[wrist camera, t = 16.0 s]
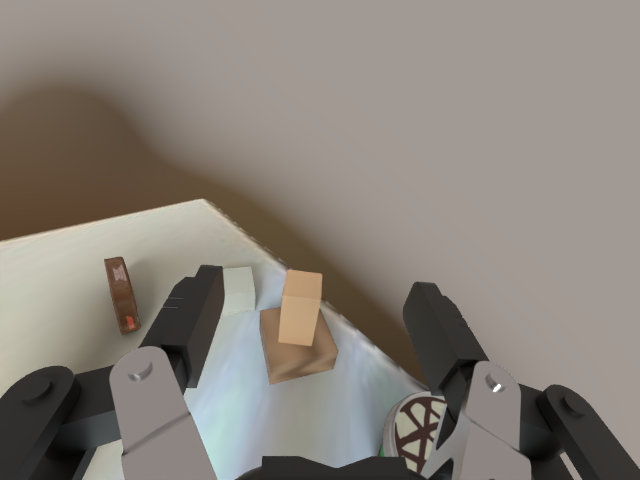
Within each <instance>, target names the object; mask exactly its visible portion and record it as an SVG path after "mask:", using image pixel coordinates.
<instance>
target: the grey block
mask: <svg viewBox="0 0 640 480" xmlns="http://www.w3.org/2000/svg"><path fill="white" fill-rule="evenodd" d="M223 276H224V289H225V300H224V306H223V310H222V313H221V315H226V314H233V313H240V312H247V311H253V310H255V287H254V281H253V276H252V270H251V266H249V267H238V268H228V269H223Z"/></svg>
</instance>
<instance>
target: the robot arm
mask: <svg viewBox="0 0 640 480" xmlns="http://www.w3.org/2000/svg"><path fill="white" fill-rule="evenodd" d="M224 300H225V289H224V276H223V268H222V266H213V265H201V266H200V268H199V270H198V272H197V274H196V276H195V277H185V278H184V279H182V280H181V281H180V282H179V283H178V284H176V285H175V286H174V288H173V290H172V291H171V293H170V295H169V297H168V299H167V300H166V302H165V303H164V305H163V308H162V309H161V310H160V312H159V314H158V316H157V317H156V319H155V321H154V322H153V324H152V326H151V328H150V329H149V331H148V333H147V334H146V336H145V338H144V340H143V341H142V343H141V345H140V346H139V347H138V349H135V350H133V351H131V352H129V353H127V354H126V355H124V356H123V357H122V358H121V359H120V360H119V361H118V362H117V363H116V364H114V365H112V366H109V367H105V368H101V369H97V370H93V371H89V372H84V373H80V374H76V375H74V374H73V373H72V371H71V370H70V369H68V368H67V367H63V366H50V367H45V368H42V369H39V370H37V371H34V372H32V373H30V374H28V375H26V376H25V377H23V378H22V379H20V380H19V381H17V382H16V383H15V384H14V385H13V386H11V387H10V388H9V389H8V390H7V391H6V393H5V394H4V395H3V396H2V397H1V399H0V480H82V478H83V476H84V474H85V472H86V470H87V468H88V466H89V464H90V462H91V459H92V457H93V455H94V453H95V451H96V449H97V447H98V446H101V445H104V444H107V443H110V442H113V441H116V440H119V439H122V443H123V453H122V467H123V473H124V478H125V480H217V477H216V475H215V472H214V470H213V467H212V465H211V462H210V460H209V457H208V455H207V452H206V450H205V447H204V445H203V442H202V440H201V437H200V434H199V432H198V429H197V427H196V424H195V422H194V420H193V417H192V415H191V413H190V412H189V410H188V408H187V405H186V403H185V400H184V398H183V395H184V393H185V390H186V388H197V385H198V382H199V379H200V376H201V373H202V370H203V367H204V364H205V361H206V358H207V355H208V352H209V349H210V346H211V343H212V340H213V337H214V334H215V331H216V328H217V325H218V322H219V319H220V316H221V313H222V310H223V306H224ZM403 319H404V322H405V325H406V328H407V330H408V333H409V336H410V338H411V341H412V344H413V347H414V349H415V352H416V355H417V357H418V360H419V363H420V366H421V368H422V371H423V374H424V376H425V379H426V382H427V384H428V387H429V390H430V393H431V395H432V396H444V399H445V401H446V404H445V405H444V407H443V409H442V413H441V417H440V420H439V424H438V427H437V431H436V434H435V438H434V441H433V445H432V448H431V452H430V454H429V457H428V459H427V461H426V463H425V465H424V467H423V469H422V471H421V474H419V473H417V472H415V471H413V470H411V469H409V468H408V467H407V463H406V459H405V457H369V458H366V459H363V460H360V461H357V462H355V463H352V464H349V465H346V466H343V467H340V468H333V467H330V466H327V465H324V464H321V463H318V462H315V461H312V460H309V459H306V458H303V457H300V456H263V457H262V466H261V467H258V468H255V469H252V470H250V471H248V472H246V473H244V474H243V475H241V476H240V477H238V478H237V479H235V480H574V479H573V478H572V476H571V474H570V473H569V471H568V469H567V468H566V466H565V464H564V462H563V461H562V459H561V457H560V456H559V455H560V454H562V453H564V452H566V454H567V455H568V457H569V459H570V460H571V462H572V463H573V465H574V467H575V468H576V470H577V471H578V473H579V475H580V477H581V478H582V480H640V469H639V468H638V466H637V465H636V464H635V463H634V461H633V460H632V459H631V457H630V456H629V455H628V453H627V452H626V451H625V450H624V448H623V447H622V446H621V444H620V443H619V442H618V440H617V439H616V438H615V436H614V435H613V434H612V433H611V431H610V430H609V429H608V427H607V426H606V425H605V424H604V422H603V421H602V420H601V418H600V417H599V416H598V414H597V413H596V412H595V411H594V409H593V408H592V407H591V406H590V404H589V403H587V401H586V400H585V399H583V398H582V397H581V396H580V395H578V394H577V393H575V392H574V391H572V390H571V389H569V388H566V387H564V386H561V385H550V386H549V387H548V388H546V389H545V390H544V391H543V392H542V391H539V390H536V389H533V388H531V387H527V386H525V385H522V384H519V383H517V382H516V380H515V379H514V377H513V376H511V374H510V373H509V372H508V371H507V370H505V369H504V368H502V367H501V366H499V365H497V364H495V363H493V362H490V361H489V359H488V358H487V356H486V354H485V353H484V351H483V349H482V348H481V346H480V345H479V343H478V341H477V339H476V338H475V336H474V335H473V333H472V331H471V330H470V328H469V327H468V325H467V323H466V321H465V320H464V318H462V315H461V313H460V311H459V310H458V308H457V306H456V305H455V304H454V303H453V302H452V301H451V300H449V298H447V297H446V296H442V294H441V292H440V291H439V289H438V287H437V286H436V285H435V284H434V283H427V282H415V283H414V284H413V286H412V288H411V291H410V293H409V295H408V298H407V300H406V302H405V305H404V307H403Z"/></svg>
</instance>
